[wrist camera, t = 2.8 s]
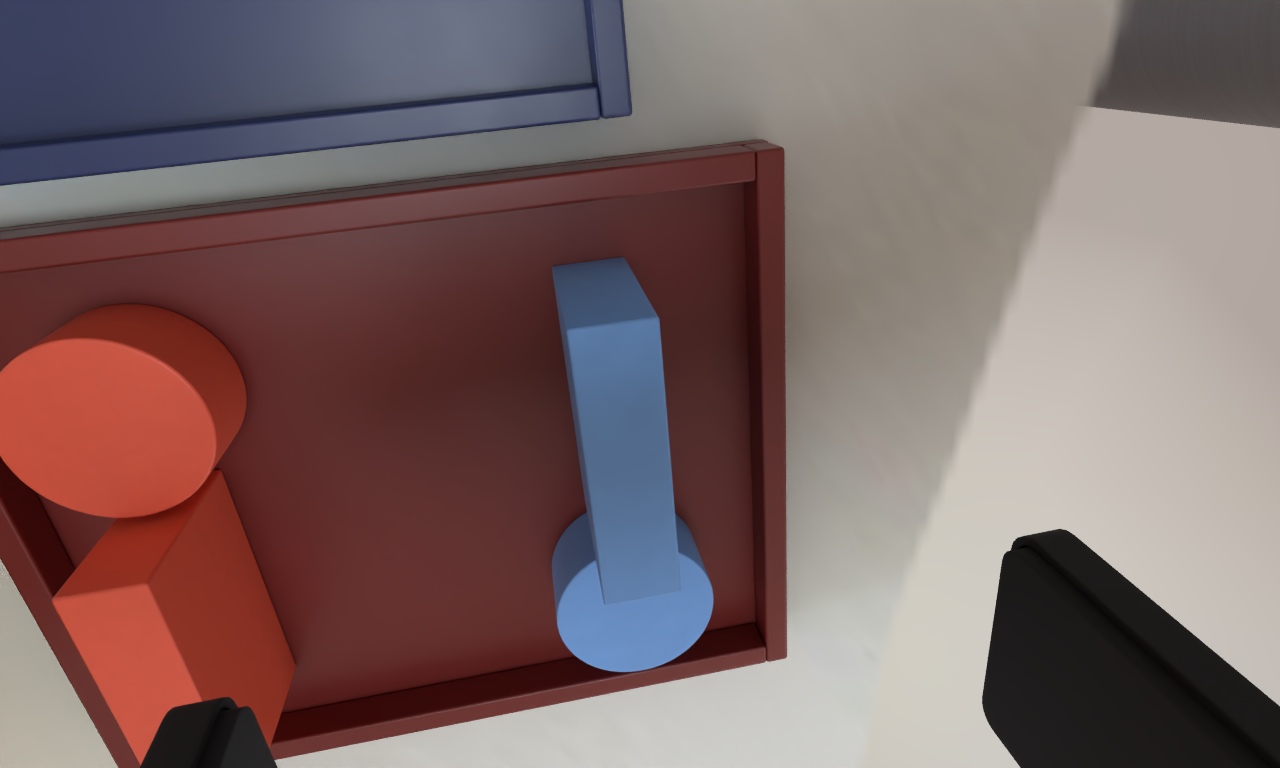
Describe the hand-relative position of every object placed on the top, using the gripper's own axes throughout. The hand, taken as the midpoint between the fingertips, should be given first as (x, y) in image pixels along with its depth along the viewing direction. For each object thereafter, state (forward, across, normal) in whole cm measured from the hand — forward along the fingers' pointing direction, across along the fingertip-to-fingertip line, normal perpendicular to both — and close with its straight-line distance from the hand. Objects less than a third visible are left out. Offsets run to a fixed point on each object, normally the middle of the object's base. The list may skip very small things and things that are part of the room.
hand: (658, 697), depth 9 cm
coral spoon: (+9, +9, +2) cm, 13 cm away
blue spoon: (+9, -1, +2) cm, 9 cm away
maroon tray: (+10, +4, +2) cm, 11 cm away
